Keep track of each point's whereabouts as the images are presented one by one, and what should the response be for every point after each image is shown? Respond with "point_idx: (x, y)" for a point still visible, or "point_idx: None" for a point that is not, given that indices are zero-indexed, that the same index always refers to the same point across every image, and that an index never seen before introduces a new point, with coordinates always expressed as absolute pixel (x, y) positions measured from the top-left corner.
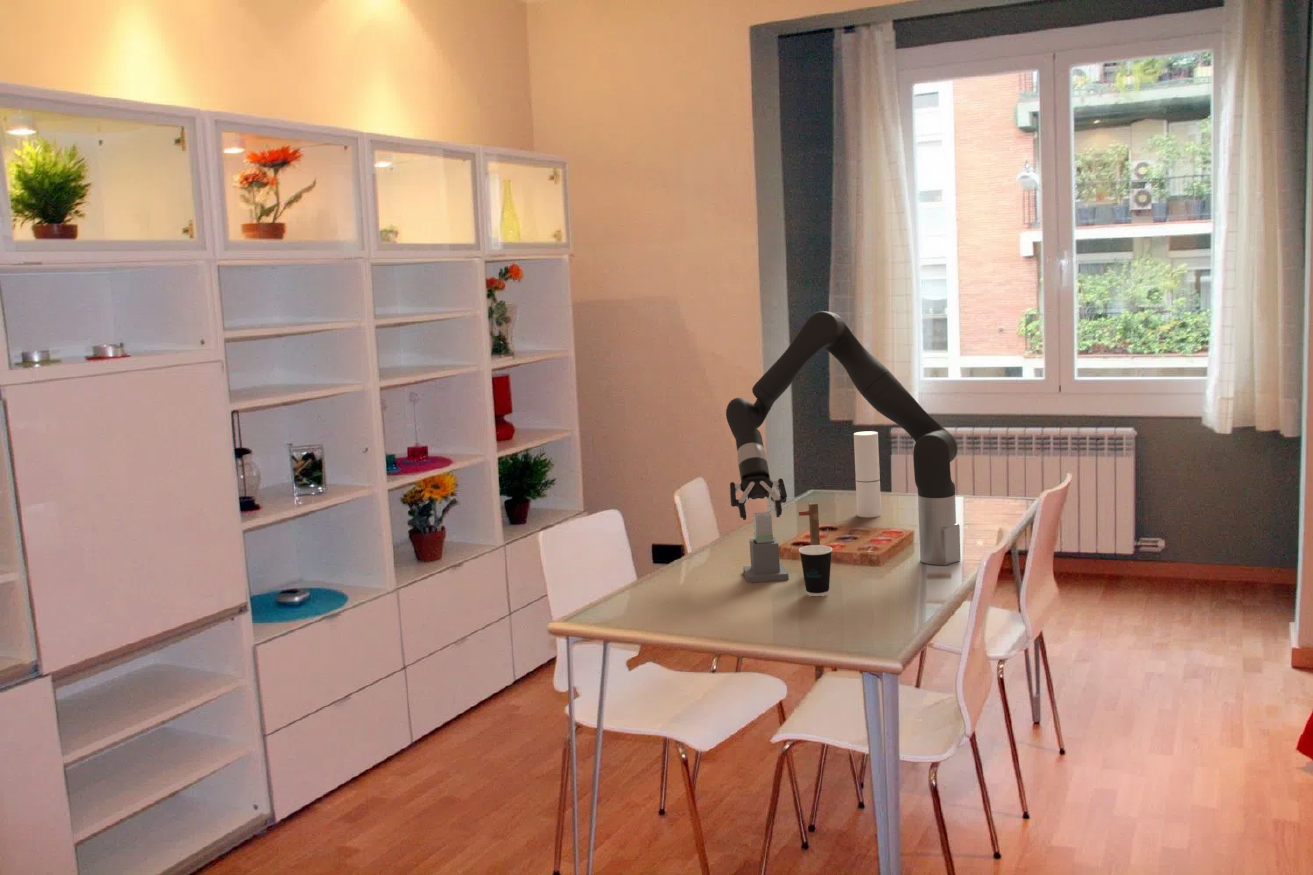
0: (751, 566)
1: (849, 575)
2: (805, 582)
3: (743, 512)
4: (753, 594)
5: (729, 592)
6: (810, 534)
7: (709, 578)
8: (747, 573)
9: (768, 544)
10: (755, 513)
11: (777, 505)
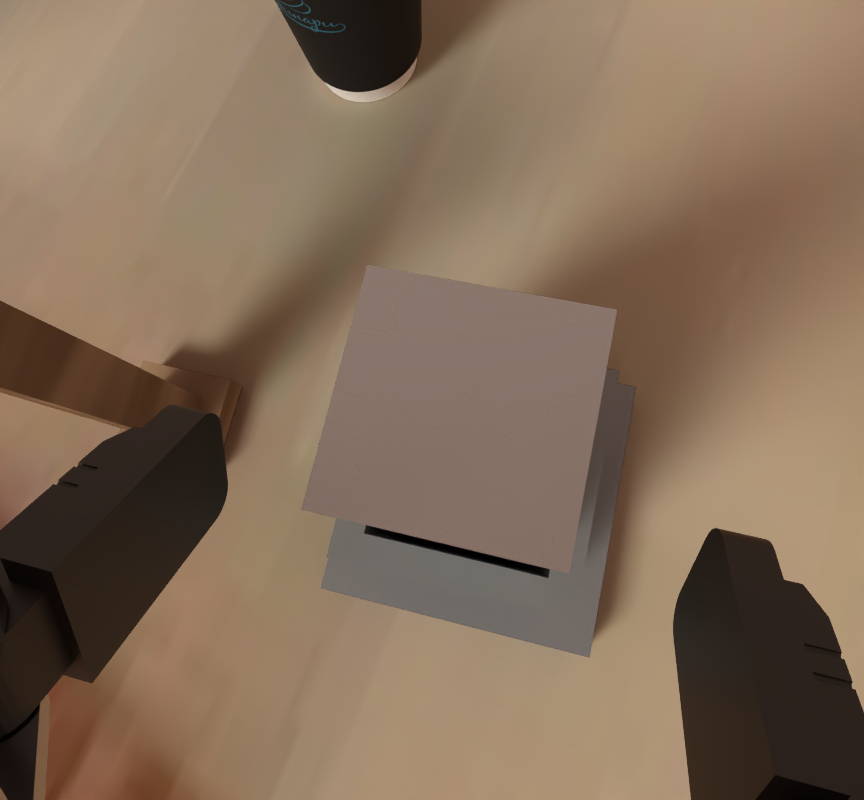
0: None
1: (82, 271)
2: (420, 1)
3: (776, 579)
4: (669, 180)
5: (791, 270)
6: (46, 378)
7: (849, 626)
8: (616, 467)
9: None
10: (543, 518)
11: (100, 488)
